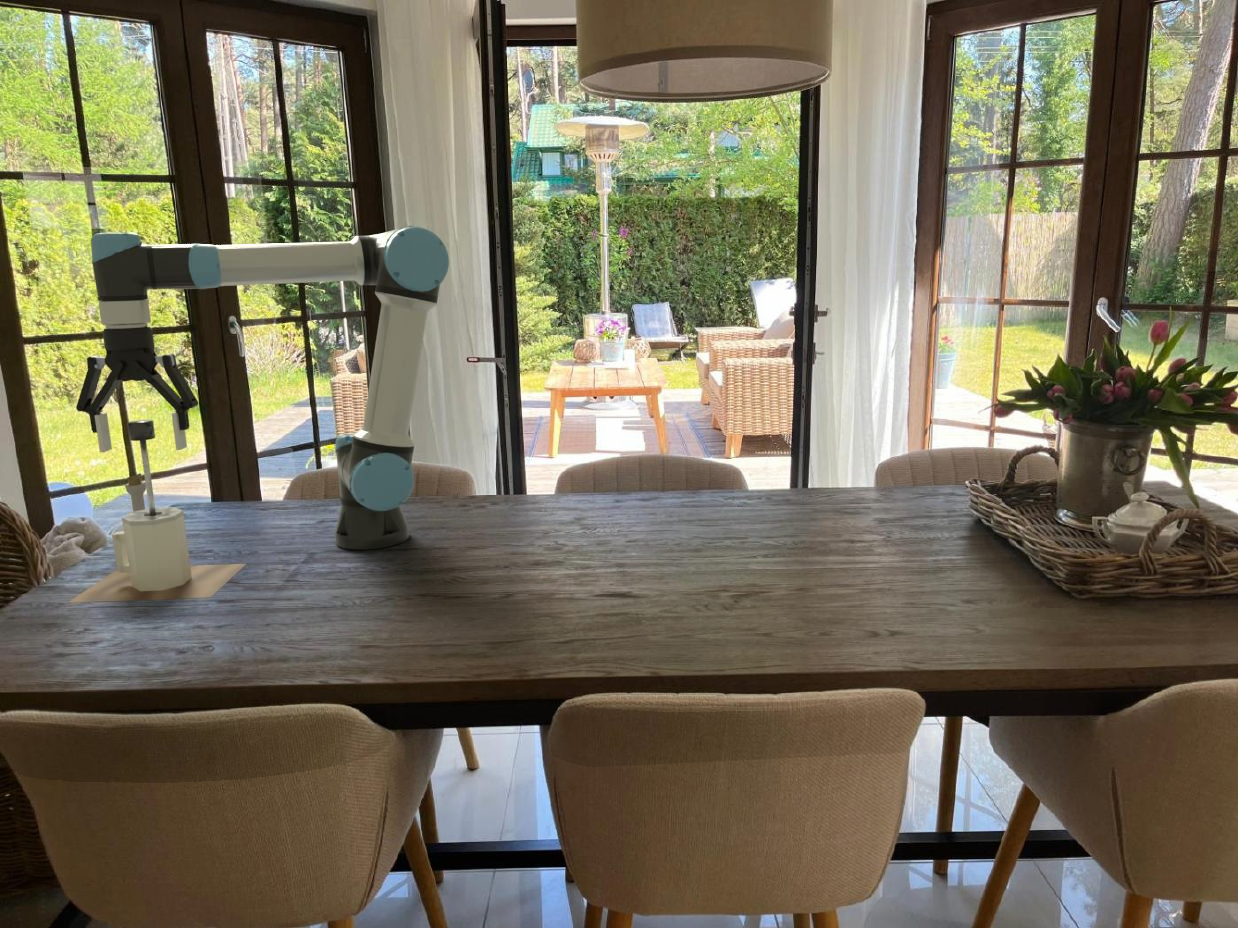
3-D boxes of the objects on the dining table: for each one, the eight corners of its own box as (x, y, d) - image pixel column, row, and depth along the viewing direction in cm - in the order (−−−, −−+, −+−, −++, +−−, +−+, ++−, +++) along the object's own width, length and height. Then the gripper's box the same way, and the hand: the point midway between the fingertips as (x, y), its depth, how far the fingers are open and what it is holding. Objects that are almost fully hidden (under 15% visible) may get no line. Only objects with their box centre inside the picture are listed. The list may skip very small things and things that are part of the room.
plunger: (171, 528, 165) (157, 419, 160) (161, 534, 161) (146, 423, 156) (148, 529, 164) (133, 420, 160) (138, 535, 160) (123, 424, 156)
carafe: (197, 572, 169) (189, 506, 166) (177, 589, 160) (167, 520, 158) (133, 575, 169) (124, 508, 166) (109, 592, 160) (99, 522, 157)
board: (247, 571, 174) (246, 563, 174) (211, 605, 157) (210, 597, 156) (119, 575, 173) (118, 568, 173) (68, 610, 156) (67, 602, 155)
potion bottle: (150, 568, 177) (138, 479, 173) (111, 566, 179) (97, 477, 175) (180, 554, 185) (169, 468, 181) (142, 552, 187) (130, 467, 183)
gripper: (208, 323, 159) (222, 443, 163) (65, 326, 158) (83, 447, 162) (191, 325, 151) (206, 451, 156) (40, 329, 150) (60, 456, 155)
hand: (143, 449), depth 159 cm, fingers open, 12 cm apart
